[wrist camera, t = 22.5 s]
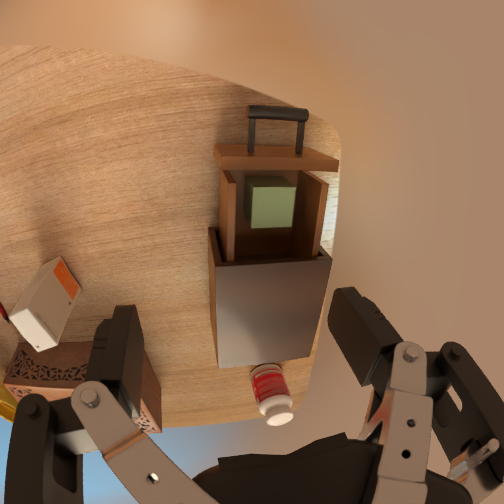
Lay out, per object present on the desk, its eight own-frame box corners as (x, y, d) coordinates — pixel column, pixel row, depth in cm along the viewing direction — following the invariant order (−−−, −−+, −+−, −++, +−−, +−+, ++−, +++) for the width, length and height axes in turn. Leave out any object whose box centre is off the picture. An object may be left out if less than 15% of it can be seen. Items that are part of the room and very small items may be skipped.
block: (244, 176, 33) (253, 187, 29) (282, 176, 33) (295, 187, 30) (243, 213, 35) (251, 228, 31) (279, 212, 36) (291, 227, 32)
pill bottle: (244, 371, 52) (256, 420, 42) (273, 357, 51) (290, 406, 42) (257, 385, 55) (270, 431, 45) (285, 373, 55) (302, 418, 45)
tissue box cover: (51, 389, 46) (42, 427, 37) (18, 343, 39) (2, 383, 30) (161, 388, 50) (162, 432, 42) (140, 338, 43) (135, 388, 35)
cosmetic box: (82, 287, 37) (59, 346, 27) (62, 296, 37) (37, 353, 26) (60, 253, 34) (26, 307, 23) (40, 264, 34) (6, 317, 23)
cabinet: (207, 227, 37) (214, 266, 29) (302, 223, 39) (332, 259, 31) (210, 321, 44) (218, 369, 36) (289, 313, 47) (309, 356, 38)
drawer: (214, 103, 29) (222, 103, 22) (312, 110, 31) (344, 114, 25) (213, 258, 38) (220, 294, 31) (297, 253, 40) (318, 285, 34)
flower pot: (39, 398, 47) (31, 432, 38) (2, 380, 43) (-9, 413, 34) (39, 376, 44) (29, 413, 35) (-1, 356, 39) (-16, 391, 31)
